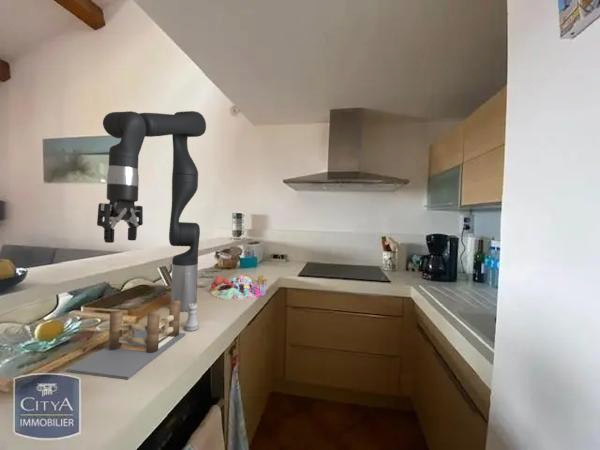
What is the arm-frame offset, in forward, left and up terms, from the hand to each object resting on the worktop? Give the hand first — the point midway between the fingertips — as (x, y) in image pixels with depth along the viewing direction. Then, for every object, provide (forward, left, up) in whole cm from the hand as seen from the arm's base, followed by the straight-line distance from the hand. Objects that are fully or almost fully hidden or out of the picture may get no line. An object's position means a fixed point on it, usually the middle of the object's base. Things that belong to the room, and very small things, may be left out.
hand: (121, 241), depth 80 cm
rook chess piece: (-12, +16, -28) cm, 35 cm away
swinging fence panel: (+6, +7, -27) cm, 29 cm away
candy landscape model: (-57, +17, -29) cm, 66 cm away
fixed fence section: (0, +14, -28) cm, 31 cm away
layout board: (+5, +9, -28) cm, 30 cm away
